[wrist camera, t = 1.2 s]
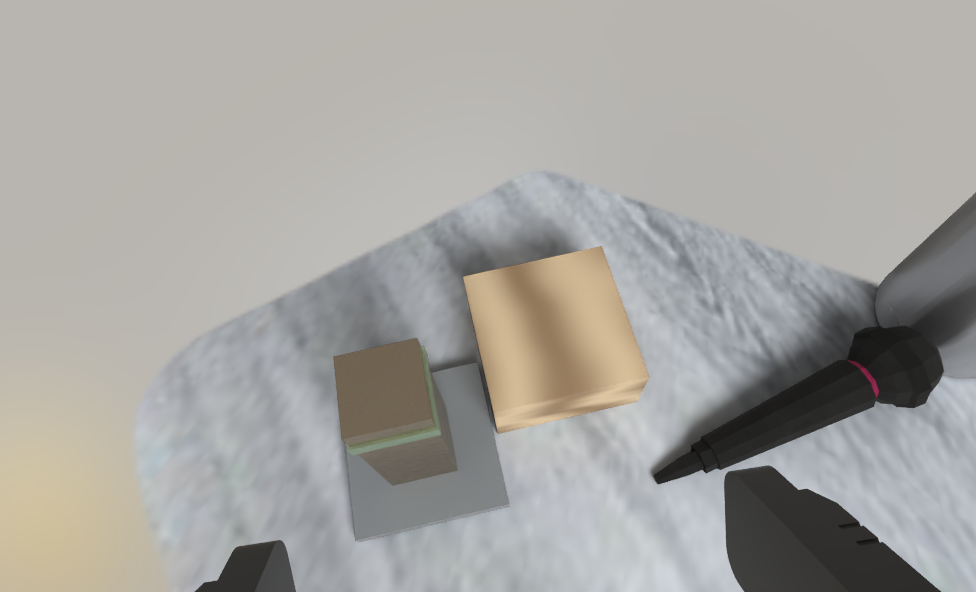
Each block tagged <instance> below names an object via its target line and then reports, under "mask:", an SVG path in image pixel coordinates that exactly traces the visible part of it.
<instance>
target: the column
mask: <svg viewBox="0 0 976 592" xmlns="http://www.w3.org/2000/svg"><path fill="white" fill-rule="evenodd" d="M333 358H334V368H335V378H336V388H337V398H338V408H339V418H340V428H341V438H342V440H343V441H344V442H345V443H346V444H347V451H348V452H349V453H350V454H352V455H356V454H358V455H359V456H360V457H361V458H362V459H364V460H365V461H366V462H367V463H368V464H369V465H370V466H371V467H372V468H373V469H375V470H376V471H377V472H378V473H379V474H380V475H381V476H382V477H383V478H384V479H386V480H387V481H388V482H389V483H390V484H391V485H392V486H394V485H399V484H403V483H407V482H412V481H416V480H420V479H424V478H429V477H433V476H437V475H441V474H446V473H450V472H454V471H458V468H457V462H456V457H455V452H454V446H453V441H452V436H451V430H450V425H449V420H448V414H447V409H446V406H445V404H444V401H443V399H442V396H441V394H440V392H439V389H438V387H437V384H436V382H435V380H434V377H433V375H432V372H431V370H430V367H429V362H428V356H427V352H426V350H425V347H424V346H422V347H421V346H420V344H419V341H418V339H417V338H415V339H410V340H406V341H401V342H397V343H393V344H388V345H384V346H379V347H375V348H370V349H366V350H361V351H357V352H352V353H348V354H343V355H339V356H334V357H333Z"/></svg>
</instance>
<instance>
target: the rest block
mask: <svg viewBox="0 0 976 592" xmlns="http://www.w3.org/2000/svg"><path fill="white" fill-rule="evenodd" d="M463 279H464V284H465V288H466V293H467V298H468V303H469V308H470V313H471V317H472V321H473V326H474V330H475V335H476V339H477V344H478V348H479V352H480V357H481V361H482V366H483V370H484V374H485V379H486V383H487V388H488V392H489V397H490V401H491V405H492V410H493V414H494V419H495V423H496V427H497V432H498V434H499V433H503V432H508V431H512V430H516V429H521V428H525V427H529V426H534V425H538V424H542V423H546V422H551V421H555V420H559V419H564V418H568V417H572V416H577V415H581V414H585V413H590V412H594V411H598V410H603V409H607V408H611V407H616V406H620V405H624V404H628V403H633V402H637V401H638V399H639V397H640V395H641V393H642V391H643V389H644V387H645V385H646V383H647V381H648V379H649V374H648V372H647V369H646V366H645V363H644V361H643V358H642V355H641V352H640V350H639V347H638V344H637V341H636V339H635V336H634V333H633V331H632V328H631V325H630V322H629V320H628V317H627V314H626V311H625V309H624V306H623V303H622V300H621V298H620V295H619V292H618V289H617V287H616V284H615V281H614V279H613V276H612V273H611V270H610V268H609V265H608V262H607V259H606V257H605V254H604V251H603V248H602V246H600V247H595V248H591V249H586V250H582V251H577V252H573V253H568V254H564V255H559V256H554V257H550V258H545V259H541V260H536V261H532V262H527V263H523V264H518V265H513V266H509V267H504V268H500V269H495V270H491V271H486V272H482V273H477V274H472V275H468V276H463Z"/></svg>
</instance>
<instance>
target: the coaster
mask: <svg viewBox="0 0 976 592" xmlns="http://www.w3.org/2000/svg"><path fill="white" fill-rule="evenodd" d="M432 375H433V377H434V380H435V382H436V384H437V387H438V389H439V392H440V394H441V396H442V399H443V401H444V404H445V406H446V409H447V414H448V420H449V425H450V430H451V436H452V441H453V446H454V452H455V457H456V462H457V468H458V471H454V472H450V473H446V474H441V475H437V476H433V477H429V478H424V479H420V480H416V481H412V482H407V483H403V484H399V485H394V486H392V485H391V484H390V483H389V482H388V481H387V480H386V479H384V478H383V477H382V476H381V475H380V474H379V473H378V472H377V471H376V470H375V469H373V468H372V467H371V466H370V465H369V464H368V463H367V462H366V461H365V460H364V459H362V458H361V457H360V456H359V455H358V454H356V455H352V454H350V453H349V452H348V451H347V444H346V443H345V445H346V455H347V465H348V474H349V484H350V494H351V504H352V514H353V523H354V533H355V541H358V542H362V541H366V540H371V539H375V538H379V537H383V536H387V535H392V534H396V533H400V532H404V531H408V530H413V529H417V528H421V527H425V526H430V525H434V524H438V523H442V522H446V521H451V520H455V519H459V518H463V517H467V516H472V515H476V514H480V513H484V512H489V511H493V510H497V509H501V508H505V507H509V502H508V497H507V493H506V488H505V484H504V479H503V475H502V470H501V466H500V461H499V457H498V452H497V448H496V443H495V439H494V434H493V430H492V425H491V421H490V417H489V412H488V408H487V403H486V399H485V394H484V390H483V385H482V381H481V376H480V372H479V367H478V363H477V362H475V363H471V364H467V365H462V366H458V367H453V368H449V369H445V370H440V371H436V372H432Z"/></svg>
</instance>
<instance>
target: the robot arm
mask: <svg viewBox="0 0 976 592" xmlns="http://www.w3.org/2000/svg"><path fill="white" fill-rule="evenodd" d="M875 310H876V316H877V319H878V322H879V324H880V326H881V327H883V328H889V327H897V326H907V327H909V328H911V329H913V330H915V331H917V332H918V333H920V334H922V335H924V336H926V337H928V338H929V339H930V340H931V341H932V342H933V343H934V344H935V346H936V347H937V348H938V350H939V353H940V356H941V359H942V363H943V368H944V372H943V374H942V375H943V376H948V377H954V378H976V193H975V194H974V195H973V196H972V197H971V198H970V199H968V200H967V201H966V202H965V203H964V204H963V205H962V206H961V207H960V208H959V209H958V210H957V211H956V212H955V213H953V215H951V216H950V217H949V218H948V219H947V220H946V221H945V222H944V223H943V224H942V225H941V226H940V227H939V228H938V229H936V230H935V231H934V232H933V233H932V234H931V235H930V236H929V237H928V238H927V239H926V240H925V241H924V242H923V243H922V244H921V245H919V247H917V248H916V249H915V250H914V251H913V252H912V253H911V254H910V255H909V256H908V257H906V258H905V259H904V260H903V261H902V262H901V263H900V264H899V265H898V266H897V267H896V268H895V269H894V270H893V271H892V272H891V273H889V274H888V275H887V276H886V277H885V279H884V280H883V281H882V283H881V284H880V285H879V288H878V291H877V293H876V298H875ZM724 491H725V521H726V547H727V554H728V558H729V562H730V565H731V568H732V571H733V573H734V576H735V578H736V580H737V581H738V583H739V585H740V586H741V588H742V589H743V590H744V592H941V591H940V590H938V589H937V588H936V587H935V586H934V585H933V584H931V583H930V582H929V581H928V580H927V579H925V578H924V577H923V576H922V575H921V574H920V573H918V572H917V571H916V570H915V569H914V568H913V567H911V566H910V565H909V564H908V563H907V562H906V561H904V560H903V559H902V558H901V557H900V556H898V555H897V554H896V553H895V552H894V551H893V550H891V549H890V548H889V547H888V546H887V545H886V544H884V543H883V542H881V543H880V542H879V540H878V538H877V537H876V536H875V535H874V534H873V533H872V532H870V531H869V530H868V529H867V528H866V527H864V526H860V524H859V521H857V520H856V519H855V518H854V517H853V516H852V515H850V514H849V513H848V512H847V511H846V510H845V509H843V508H842V507H841V506H840V505H839V504H837V503H836V502H834V501H832V500H829V499H827V498H825V497H823V496H821V495H819V494H817V493H815V492H813V491H811V490H809V489H802V490H798V489H797V488H796V487H794V486H793V485H792V484H791V483H790V482H789V481H788V480H787V479H786V478H785V477H783V476H782V475H781V474H780V473H779V472H778V471H777V470H776V469H774V468H773V467H771V466H762V467H755V468H749V469H743V470H736V471H730V472H728V473H727V474H726V476H725V481H724ZM195 592H296V590H295V585H294V581H293V576H292V572H291V567H290V563H289V558H288V554H287V550H286V547H285V545H284V543H283V542H282V541H281V540H278V541H271V542H265V543H258V544H252V545H245V546H239V547H236V548H235V549H234V550H233V552H232V554H231V556H230V558H229V560H228V561H227V563H226V565H225V567H224V569H223V571H222V573H221V575H220V577H219V579H218V581H212V582H205V583H203V584H202V585H201V586H200V587H199V588H198V589H197V590H196V591H195Z"/></svg>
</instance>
